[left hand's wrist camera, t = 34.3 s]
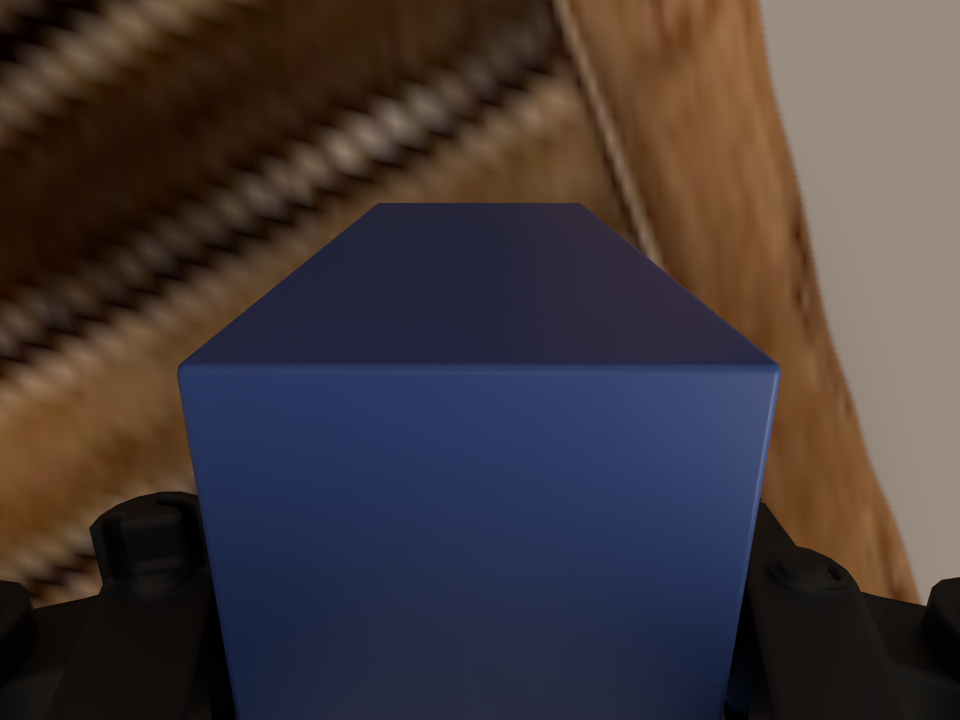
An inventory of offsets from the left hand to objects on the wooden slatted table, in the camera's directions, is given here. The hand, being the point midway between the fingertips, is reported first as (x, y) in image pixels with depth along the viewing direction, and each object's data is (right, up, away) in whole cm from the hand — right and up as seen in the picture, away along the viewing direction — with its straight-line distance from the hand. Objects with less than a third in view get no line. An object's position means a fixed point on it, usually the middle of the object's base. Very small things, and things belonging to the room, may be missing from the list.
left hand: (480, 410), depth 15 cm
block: (0, +1, +2) cm, 2 cm away
